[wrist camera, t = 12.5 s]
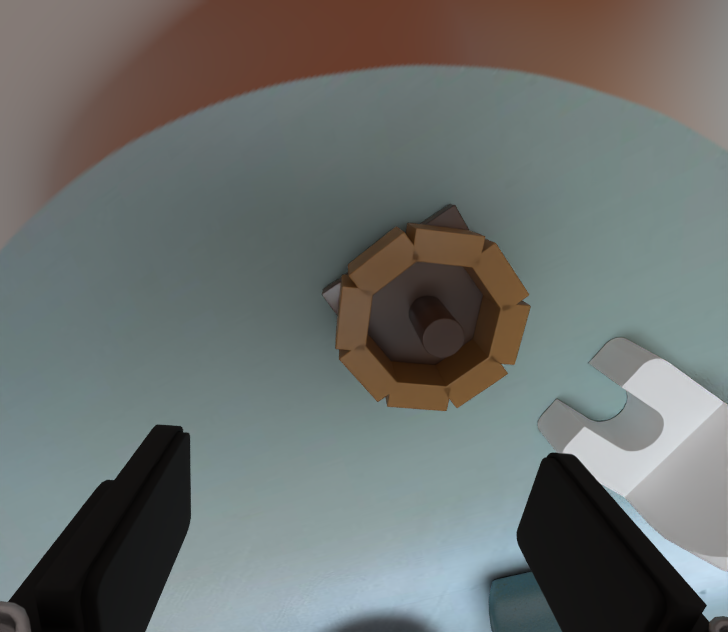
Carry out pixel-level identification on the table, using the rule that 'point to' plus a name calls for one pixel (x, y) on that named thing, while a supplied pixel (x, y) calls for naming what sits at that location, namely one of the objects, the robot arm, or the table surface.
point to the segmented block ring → (474, 359)
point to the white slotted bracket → (656, 448)
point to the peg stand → (423, 306)
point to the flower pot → (520, 606)
